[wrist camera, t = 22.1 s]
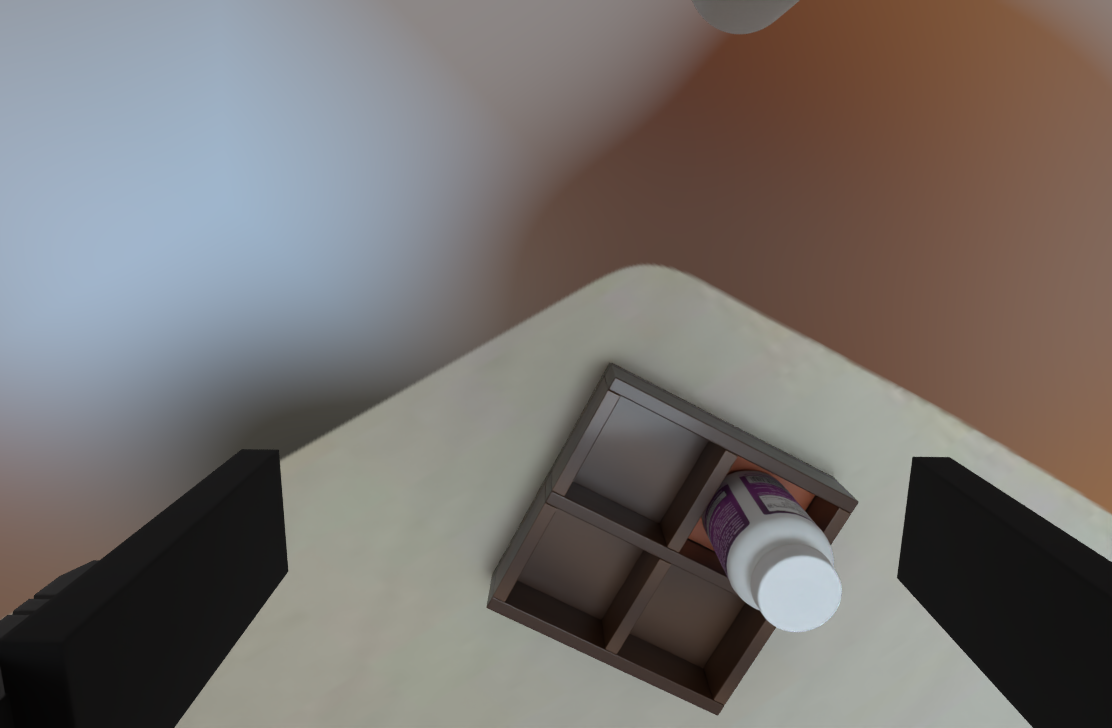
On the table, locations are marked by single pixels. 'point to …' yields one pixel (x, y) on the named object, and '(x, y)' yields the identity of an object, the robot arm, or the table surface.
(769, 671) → the table surface
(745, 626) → the grid
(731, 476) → the pill bottle
